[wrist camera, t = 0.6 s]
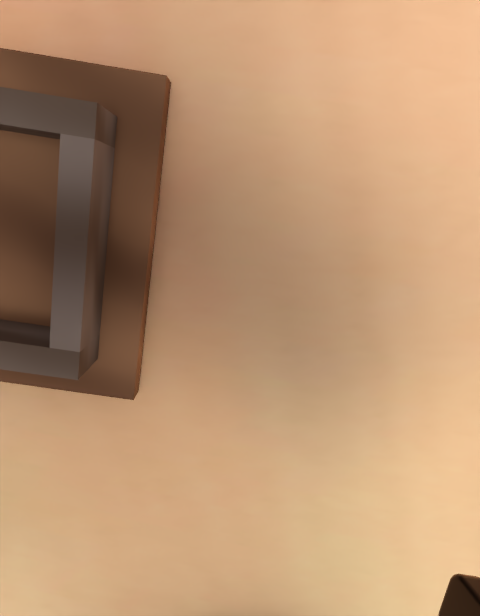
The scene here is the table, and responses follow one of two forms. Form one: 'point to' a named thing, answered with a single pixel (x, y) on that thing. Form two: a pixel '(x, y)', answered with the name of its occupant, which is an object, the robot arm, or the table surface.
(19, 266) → the shaker holder
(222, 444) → the table surface
